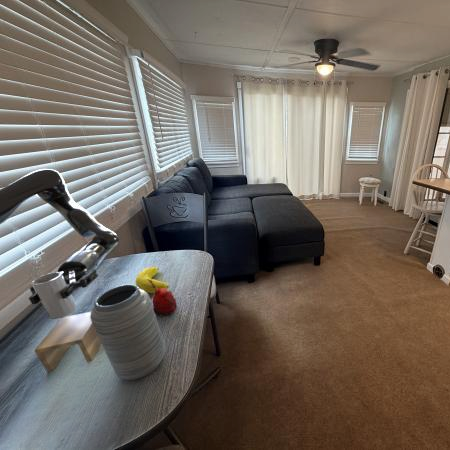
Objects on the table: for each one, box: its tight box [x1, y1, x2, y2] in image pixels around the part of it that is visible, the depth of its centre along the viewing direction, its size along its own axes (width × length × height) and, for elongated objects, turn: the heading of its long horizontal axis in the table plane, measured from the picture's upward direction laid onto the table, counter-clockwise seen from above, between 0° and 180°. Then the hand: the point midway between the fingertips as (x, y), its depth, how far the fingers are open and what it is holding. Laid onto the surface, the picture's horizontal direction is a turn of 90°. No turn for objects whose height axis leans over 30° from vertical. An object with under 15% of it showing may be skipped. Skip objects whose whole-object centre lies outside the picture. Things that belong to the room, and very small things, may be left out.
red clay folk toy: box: [147, 277, 178, 317], centre depth 81 cm, size 8×7×15 cm
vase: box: [90, 283, 166, 381], centre depth 60 cm, size 12×12×23 cm
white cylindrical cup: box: [30, 271, 78, 320], centre depth 63 cm, size 6×6×11 cm
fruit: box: [135, 266, 169, 294], centre depth 98 cm, size 10×5×20 cm
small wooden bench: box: [34, 311, 102, 373], centre depth 68 cm, size 10×12×8 cm
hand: (48, 298), depth 60 cm, fingers closed on white cylindrical cup, 5 cm apart
